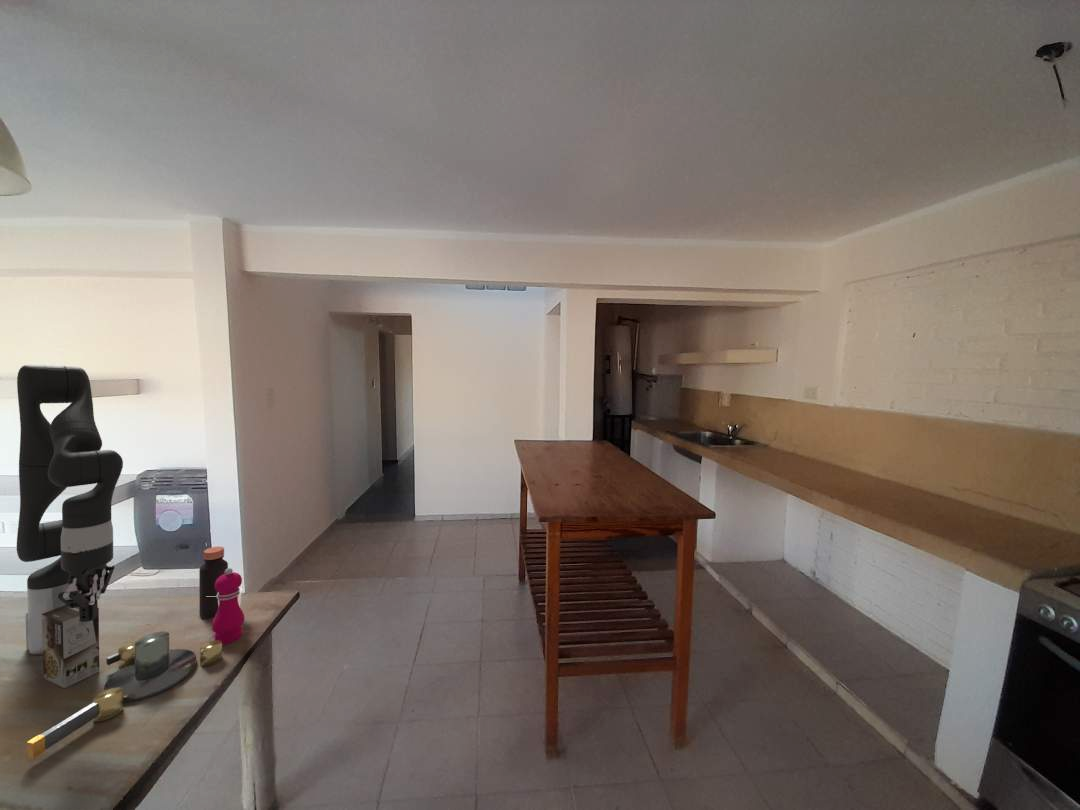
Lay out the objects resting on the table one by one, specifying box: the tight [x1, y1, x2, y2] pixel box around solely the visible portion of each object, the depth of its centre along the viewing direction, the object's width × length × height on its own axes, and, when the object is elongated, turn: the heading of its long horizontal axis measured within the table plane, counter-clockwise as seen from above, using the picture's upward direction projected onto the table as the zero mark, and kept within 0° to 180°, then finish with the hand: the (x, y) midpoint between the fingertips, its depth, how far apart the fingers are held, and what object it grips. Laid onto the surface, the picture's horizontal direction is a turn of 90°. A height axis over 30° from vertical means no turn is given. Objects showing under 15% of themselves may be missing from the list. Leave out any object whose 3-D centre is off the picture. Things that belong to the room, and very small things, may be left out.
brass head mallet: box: [26, 687, 124, 759], centre depth 82 cm, size 14×4×4 cm, turn 170°
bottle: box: [198, 546, 229, 619], centre depth 124 cm, size 7×7×20 cm
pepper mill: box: [211, 567, 245, 645], centre depth 112 cm, size 7×7×20 cm
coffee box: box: [41, 605, 100, 689], centre depth 97 cm, size 9×6×16 cm
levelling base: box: [103, 631, 223, 704], centre depth 99 cm, size 23×19×10 cm
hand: (88, 619), depth 88 cm, fingers closed
